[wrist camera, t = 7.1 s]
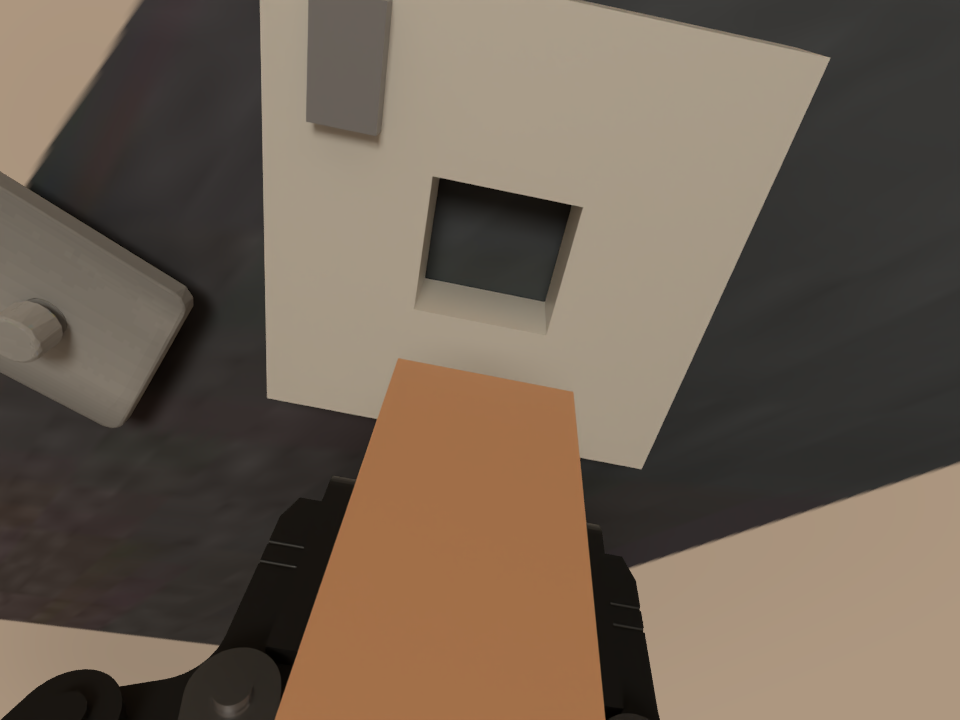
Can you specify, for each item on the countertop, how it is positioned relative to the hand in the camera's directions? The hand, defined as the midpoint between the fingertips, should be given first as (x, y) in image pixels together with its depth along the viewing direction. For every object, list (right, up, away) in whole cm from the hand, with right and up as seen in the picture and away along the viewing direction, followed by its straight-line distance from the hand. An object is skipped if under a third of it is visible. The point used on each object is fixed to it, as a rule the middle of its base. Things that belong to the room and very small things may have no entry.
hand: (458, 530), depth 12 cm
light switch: (-19, +7, +17) cm, 26 cm away
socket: (+1, +9, +14) cm, 16 cm away
